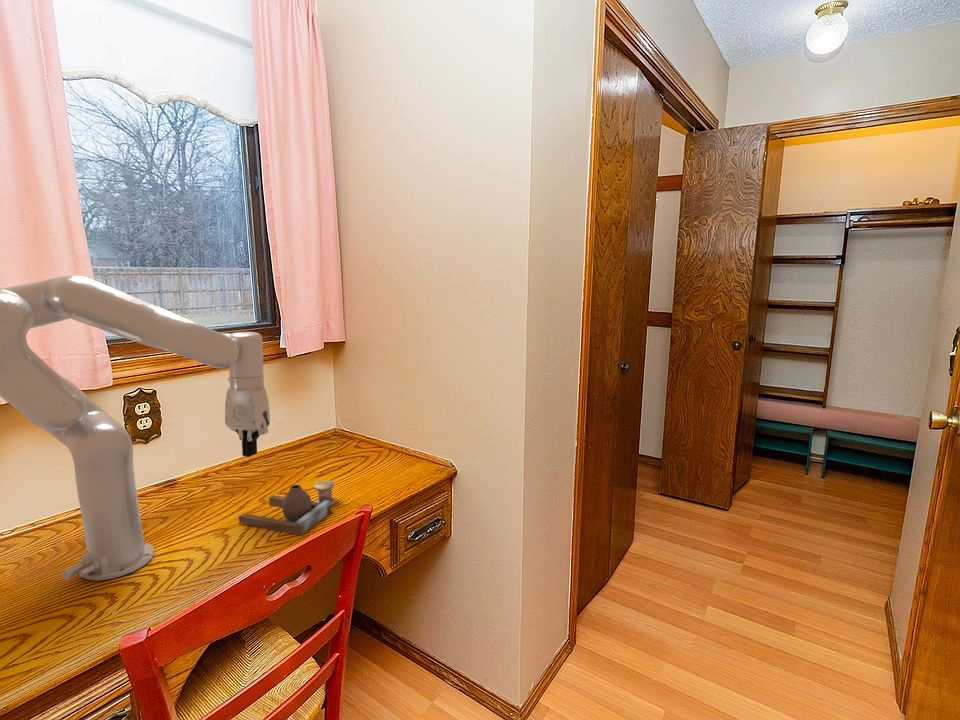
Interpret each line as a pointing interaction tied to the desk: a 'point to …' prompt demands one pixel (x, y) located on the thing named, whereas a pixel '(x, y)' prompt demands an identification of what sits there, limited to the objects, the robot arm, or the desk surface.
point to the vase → (296, 504)
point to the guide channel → (284, 526)
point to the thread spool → (325, 491)
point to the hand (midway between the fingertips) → (249, 454)
